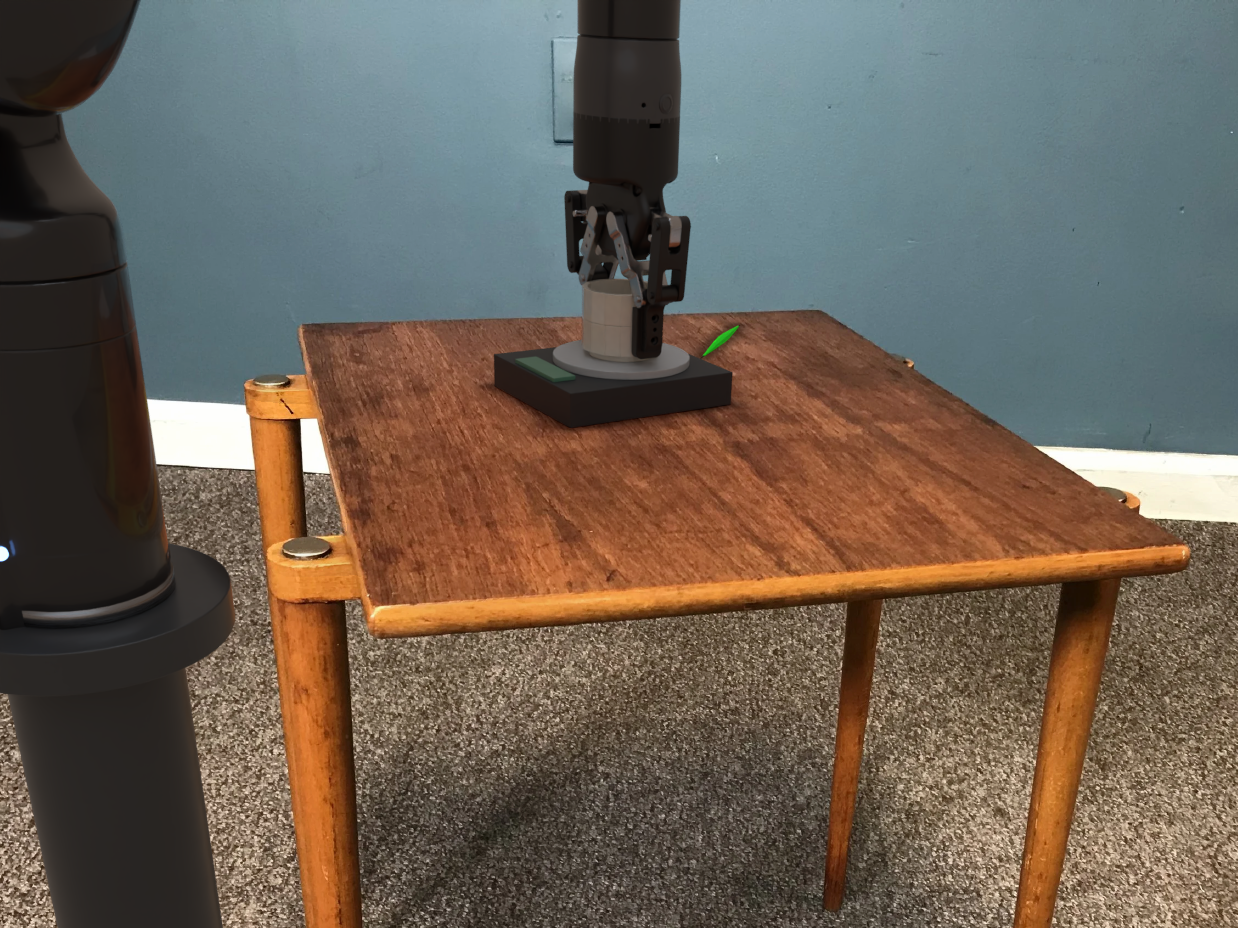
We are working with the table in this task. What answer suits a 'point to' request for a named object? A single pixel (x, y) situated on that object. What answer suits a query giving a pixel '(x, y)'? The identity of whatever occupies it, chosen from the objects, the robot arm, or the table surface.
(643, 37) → the robot arm
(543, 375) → the scale
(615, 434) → the table surface
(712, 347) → the leaf
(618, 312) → the white cup
